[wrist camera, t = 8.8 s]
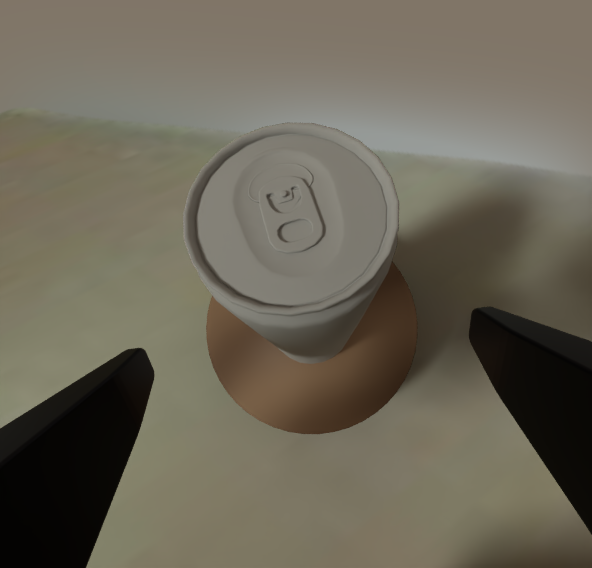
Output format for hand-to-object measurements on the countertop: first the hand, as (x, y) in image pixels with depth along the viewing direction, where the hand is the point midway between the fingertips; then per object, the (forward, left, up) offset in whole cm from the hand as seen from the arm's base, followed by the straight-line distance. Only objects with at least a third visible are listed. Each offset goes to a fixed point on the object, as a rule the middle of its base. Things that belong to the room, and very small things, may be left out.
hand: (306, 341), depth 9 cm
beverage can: (+2, -1, -9) cm, 10 cm away
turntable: (+2, -1, -10) cm, 11 cm away
